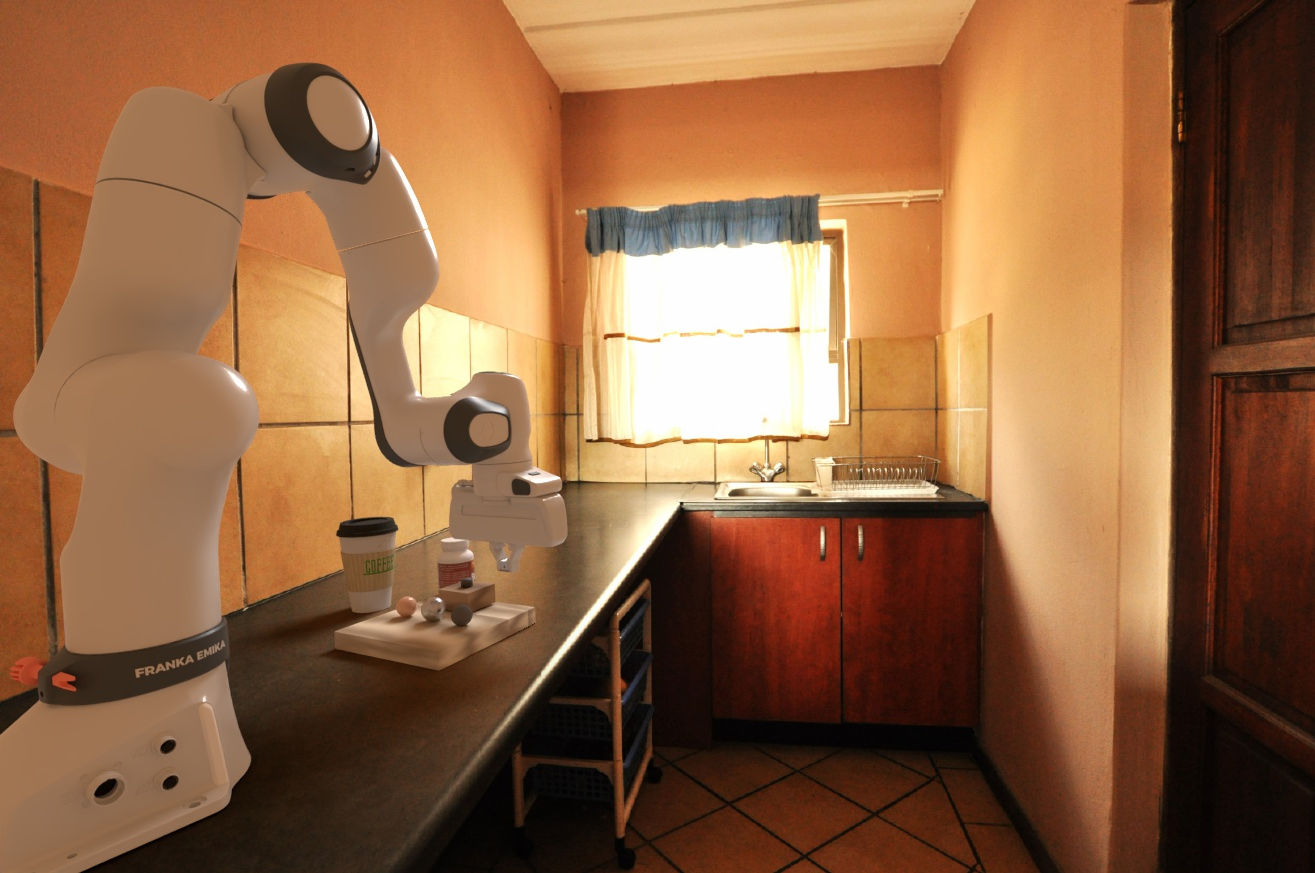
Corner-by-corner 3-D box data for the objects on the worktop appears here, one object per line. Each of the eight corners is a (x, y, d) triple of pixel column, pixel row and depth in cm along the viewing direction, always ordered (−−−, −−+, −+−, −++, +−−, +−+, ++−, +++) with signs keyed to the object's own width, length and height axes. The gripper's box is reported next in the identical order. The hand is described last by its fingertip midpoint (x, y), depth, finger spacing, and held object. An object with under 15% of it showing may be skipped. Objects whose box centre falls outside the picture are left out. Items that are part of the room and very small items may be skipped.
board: (439, 670, 84) (438, 651, 84) (335, 648, 94) (334, 631, 93) (535, 622, 102) (535, 607, 102) (440, 608, 111) (439, 593, 111)
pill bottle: (480, 602, 114) (478, 539, 113) (444, 609, 111) (441, 544, 110) (469, 594, 119) (467, 534, 119) (434, 601, 116) (432, 538, 115)
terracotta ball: (406, 620, 97) (405, 600, 97) (392, 618, 99) (391, 598, 99) (422, 614, 100) (421, 595, 100) (408, 612, 101) (407, 593, 101)
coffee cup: (402, 611, 110) (398, 522, 110) (337, 619, 107) (332, 528, 106) (401, 596, 120) (398, 514, 119) (342, 603, 116) (337, 519, 115)
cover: (468, 613, 99) (467, 585, 99) (439, 608, 102) (438, 581, 102) (495, 602, 104) (494, 575, 104) (466, 598, 107) (465, 572, 107)
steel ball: (433, 625, 94) (432, 601, 94) (416, 622, 96) (415, 599, 96) (451, 618, 98) (450, 595, 97) (434, 615, 99) (433, 592, 99)
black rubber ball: (462, 630, 92) (461, 608, 92) (446, 627, 94) (445, 606, 94) (477, 623, 95) (476, 602, 95) (461, 620, 96) (460, 600, 96)
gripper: (436, 481, 101) (442, 570, 101) (545, 485, 91) (550, 583, 92) (466, 476, 106) (470, 560, 107) (571, 479, 97) (575, 571, 98)
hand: (508, 571), depth 100 cm, fingers closed
